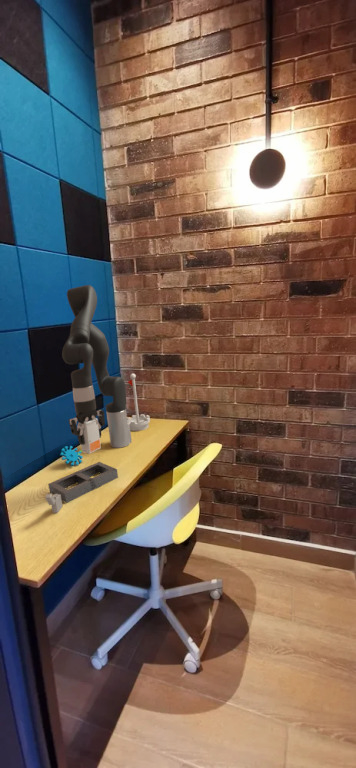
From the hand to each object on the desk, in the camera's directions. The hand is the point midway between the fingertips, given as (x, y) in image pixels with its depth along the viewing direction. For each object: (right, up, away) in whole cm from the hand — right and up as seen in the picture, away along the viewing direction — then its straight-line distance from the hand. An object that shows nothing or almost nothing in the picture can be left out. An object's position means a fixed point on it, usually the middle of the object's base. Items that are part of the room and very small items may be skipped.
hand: (90, 440), depth 132 cm
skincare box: (0, -4, +1) cm, 4 cm away
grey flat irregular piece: (-7, -21, -17) cm, 28 cm away
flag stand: (+12, -3, +60) cm, 61 cm away
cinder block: (-2, -17, 0) cm, 17 cm away
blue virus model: (-12, -13, +20) cm, 27 cm away
